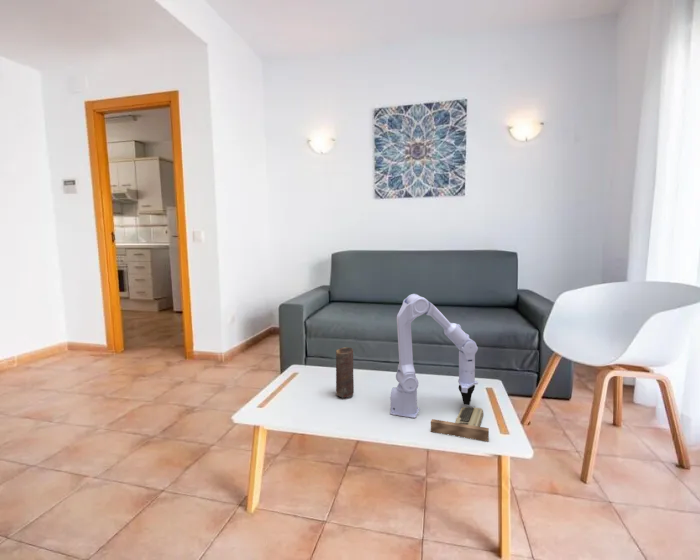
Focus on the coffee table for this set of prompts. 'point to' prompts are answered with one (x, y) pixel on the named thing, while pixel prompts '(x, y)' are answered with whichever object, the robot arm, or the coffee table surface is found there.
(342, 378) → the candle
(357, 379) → the coffee table surface
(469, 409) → the computer
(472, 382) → the robot arm
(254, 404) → the coffee table surface
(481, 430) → the bar
